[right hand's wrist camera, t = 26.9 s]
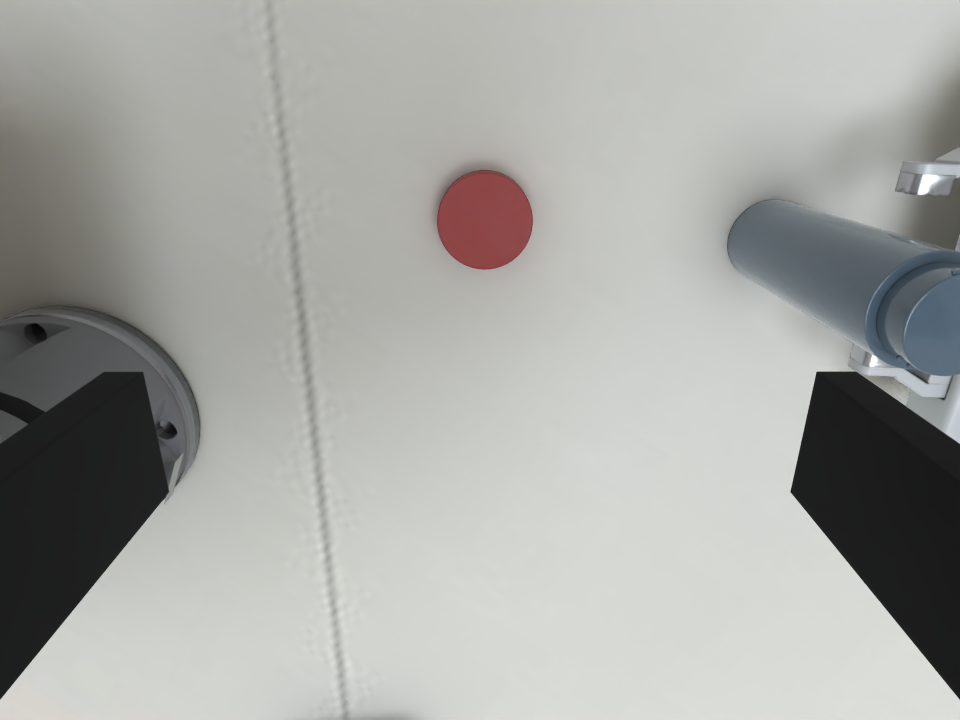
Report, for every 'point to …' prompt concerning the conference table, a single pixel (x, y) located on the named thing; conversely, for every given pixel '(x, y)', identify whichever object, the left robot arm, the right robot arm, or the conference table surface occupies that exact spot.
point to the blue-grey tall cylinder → (857, 281)
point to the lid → (484, 219)
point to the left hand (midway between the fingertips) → (879, 272)
